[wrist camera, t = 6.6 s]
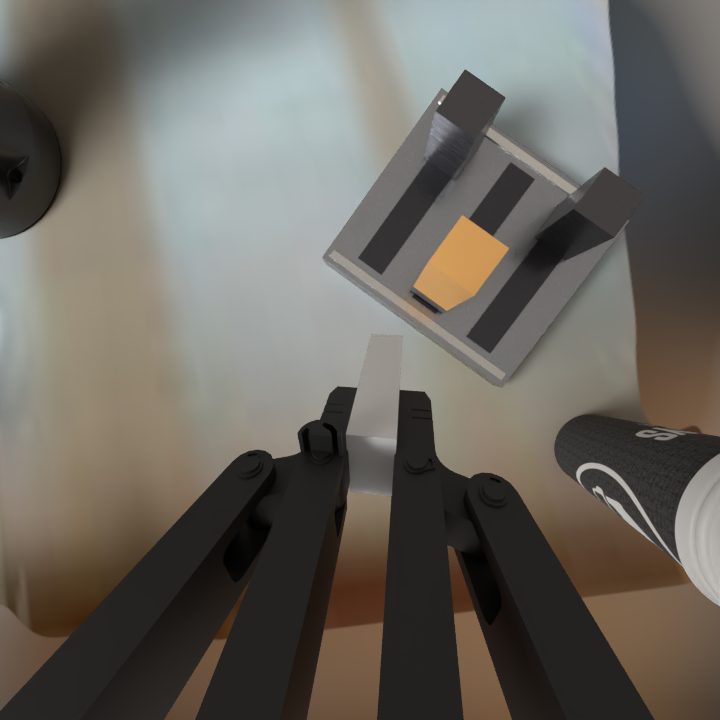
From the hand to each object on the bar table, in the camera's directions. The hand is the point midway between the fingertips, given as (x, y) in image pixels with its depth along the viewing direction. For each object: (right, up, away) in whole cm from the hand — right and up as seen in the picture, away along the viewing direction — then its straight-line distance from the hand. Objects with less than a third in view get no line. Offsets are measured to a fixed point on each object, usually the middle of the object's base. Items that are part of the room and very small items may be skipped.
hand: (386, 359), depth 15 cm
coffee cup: (+21, -8, +14) cm, 26 cm away
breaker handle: (+6, +7, +11) cm, 14 cm away
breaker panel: (+9, +11, +13) cm, 19 cm away
